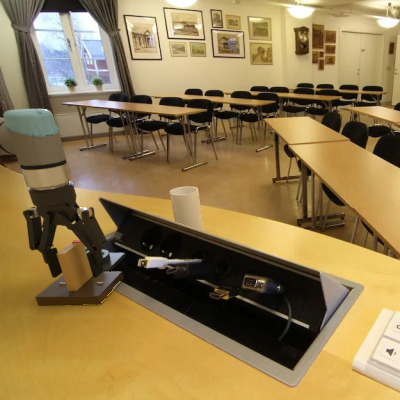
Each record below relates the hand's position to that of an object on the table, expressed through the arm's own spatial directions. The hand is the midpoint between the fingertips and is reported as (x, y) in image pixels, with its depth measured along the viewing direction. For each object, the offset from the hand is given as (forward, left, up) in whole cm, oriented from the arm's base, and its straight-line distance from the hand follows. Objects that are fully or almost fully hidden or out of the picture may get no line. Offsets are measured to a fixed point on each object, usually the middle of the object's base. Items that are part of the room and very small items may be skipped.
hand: (78, 274), depth 76 cm
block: (-4, +12, -5) cm, 14 cm away
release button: (-4, +12, -2) cm, 13 cm away
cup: (+16, +29, -5) cm, 34 cm away
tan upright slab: (0, 0, -3) cm, 3 cm away
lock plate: (0, 0, -5) cm, 5 cm away
